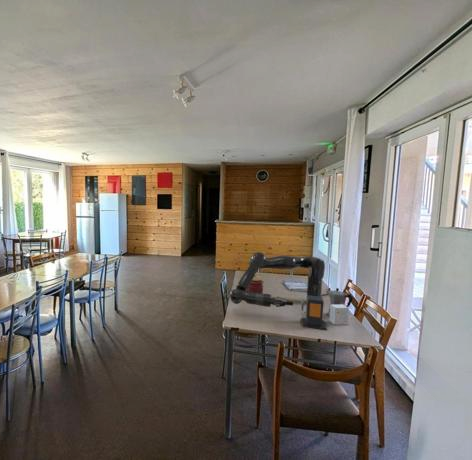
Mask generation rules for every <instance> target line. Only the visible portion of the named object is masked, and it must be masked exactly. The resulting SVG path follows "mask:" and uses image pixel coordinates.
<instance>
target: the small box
mask: <svg viewBox="0 0 472 460" xmlns="http://www.w3.org/2000/svg"><path fill="white" fill-rule="evenodd" d="M345 305H346V304H345ZM345 305H344V303H343V304H335V305H330V304H329V307H330V316H329V322H330V323H331V324H332V325H335V326H339V325H340V326H342V325H343V326H344V325H345V326H346V325H349V324H348V323H349V322H348V321H349V307H346V306H345Z"/></svg>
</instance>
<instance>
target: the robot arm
mask: <svg viewBox="0 0 472 460" xmlns="http://www.w3.org/2000/svg"><path fill="white" fill-rule="evenodd" d="M248 264H249V266H248V267H247V268H246V270H245V271H244V272H243V274H242V275H241V277H240V279H239V280H238V282H237V284H236V288H234V289H232V290H231V291H230V293H229V295H230V300H231V302H232V304H235V305H238V304H240V303H241V302H243V301H244V302H245V303H246V304H249V305H254V306H255V305H256V306H260V307H266V308H267V307H268V308H271V306H272V305H273V306H275V307H276V308H280V307H281V308H282V307H285V306H291V307H292V306H294V301H293V300H286V298H283V297H280V296H276V297H272V294H269V293H263V294H261V293H249V292H246V290H247V288H248V287H249V285H250V283H251V281H252V279H253V277H254V276H255V274H256V275H257V272H258V271H259V269H282V270H294V269H299V268H303V269H308V270H309V269H310V270H311V271H310V274H308V275H307V285H306V286H307V291H306V296H307V295H310V296H319V297H323V296H329V295H328V294H327V293H323V294H322V290H323V278H324V276H325V268H326V263H325V261H324V260H323V259H322V258H320V257H317V256H293V255H277V256H272V257H271V256H270V257H266V255H265V254H264V253H263V252H261V251H258V252H257V251H256V252H254V253H253V254H252V255H251V256H250V257H249V259H248ZM328 291H331V287H329V288H328ZM305 299H306V301H305V302H306V304H307V298H305Z"/></svg>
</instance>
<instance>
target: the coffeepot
mask: <svg viewBox="0 0 472 460" xmlns="http://www.w3.org/2000/svg"><path fill="white" fill-rule="evenodd" d="M325 292H326V294H328V295H327V296H328V298H329V303H330V304H329V307H328V311H327V316H328V317H330V305H335V304H343V305H344V302H345V298H349V299H348V302H347V303H346V304H345V306H346V307H348V308H349V307H350V306H351V304H352V302H353V300H354V297H353V296H352V295H351V294H349V293H346V292H344V291H340V288H339V287H336V288H335V290H330V291H329V290H325Z"/></svg>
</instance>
